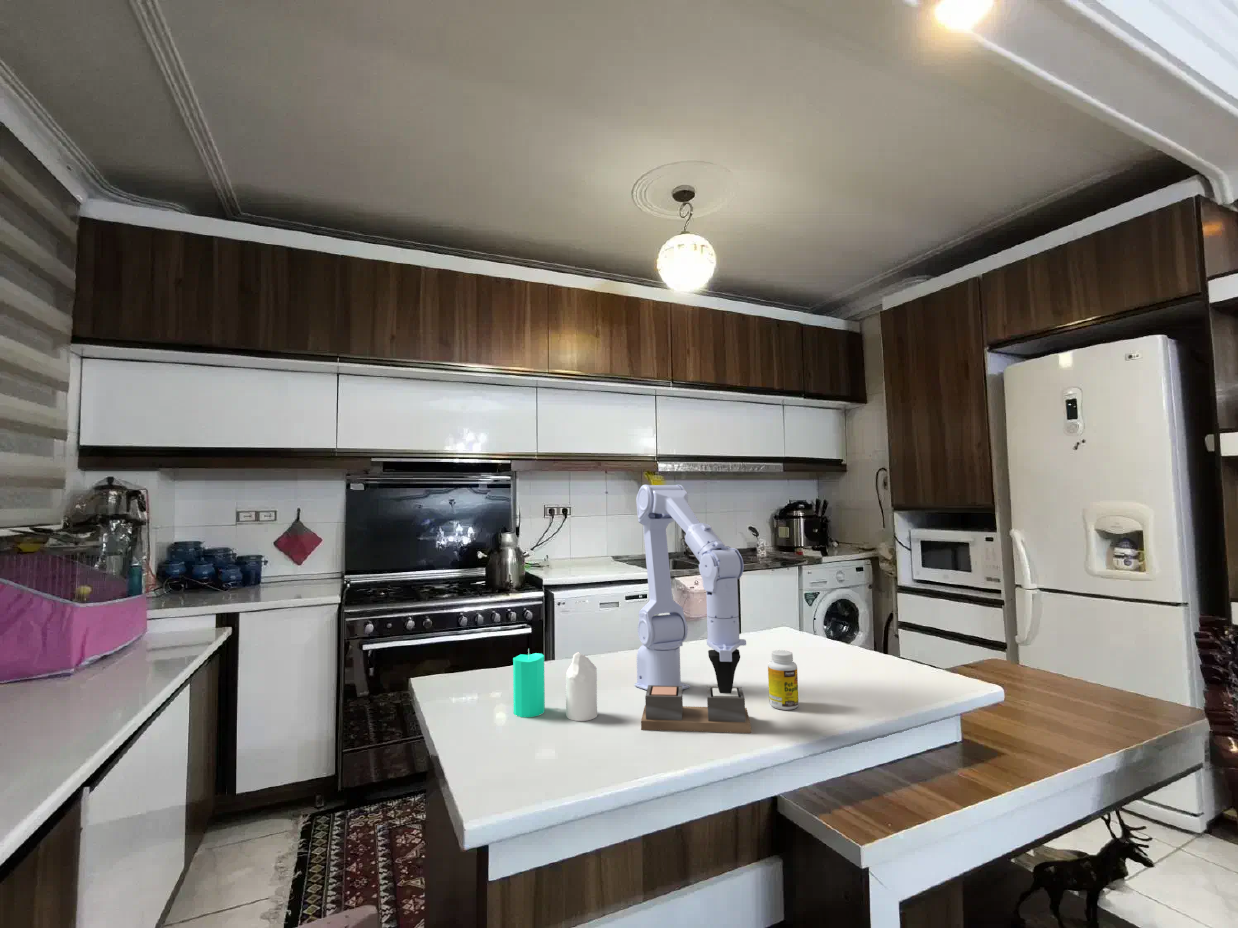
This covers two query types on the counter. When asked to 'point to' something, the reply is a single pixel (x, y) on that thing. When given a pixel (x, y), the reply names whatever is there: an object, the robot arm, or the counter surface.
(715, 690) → the white key
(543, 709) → the candle
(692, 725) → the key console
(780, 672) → the supplement bottle
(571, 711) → the white bottle
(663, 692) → the clay key
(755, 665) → the counter surface
